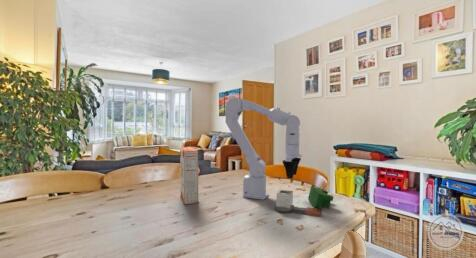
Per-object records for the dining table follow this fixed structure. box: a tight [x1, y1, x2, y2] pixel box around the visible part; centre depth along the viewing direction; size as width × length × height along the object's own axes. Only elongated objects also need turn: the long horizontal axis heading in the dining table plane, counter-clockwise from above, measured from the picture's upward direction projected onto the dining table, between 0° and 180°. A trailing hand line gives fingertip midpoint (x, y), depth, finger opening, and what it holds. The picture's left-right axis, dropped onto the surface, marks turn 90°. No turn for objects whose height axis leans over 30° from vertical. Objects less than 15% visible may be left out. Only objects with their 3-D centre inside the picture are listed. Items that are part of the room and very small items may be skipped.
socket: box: [275, 189, 294, 208], centre depth 93 cm, size 5×5×5 cm
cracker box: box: [179, 146, 199, 206], centre depth 104 cm, size 14×6×21 cm, turn 18°
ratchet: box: [274, 203, 323, 217], centre depth 91 cm, size 16×7×4 cm, turn 68°
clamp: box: [307, 185, 335, 209], centre depth 100 cm, size 12×6×9 cm, turn 172°
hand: (291, 176), depth 106 cm, fingers open, 7 cm apart
